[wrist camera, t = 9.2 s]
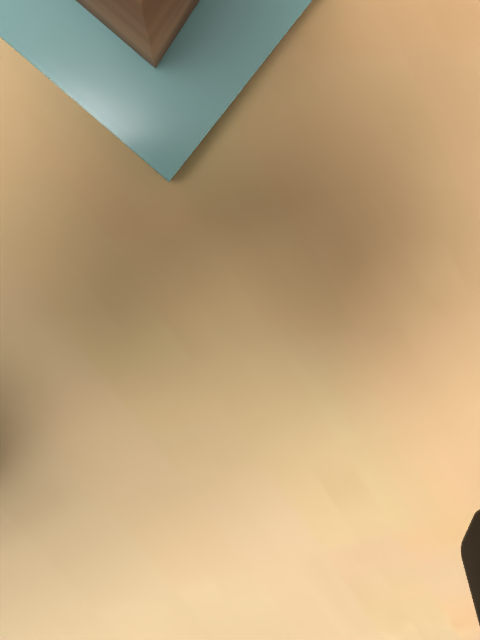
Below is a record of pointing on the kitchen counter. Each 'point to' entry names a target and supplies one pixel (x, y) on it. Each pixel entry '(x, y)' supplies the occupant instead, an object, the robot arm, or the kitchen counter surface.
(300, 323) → the kitchen counter surface
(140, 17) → the walnut post
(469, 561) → the robot arm
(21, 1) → the ceramic plinth
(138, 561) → the kitchen counter surface
